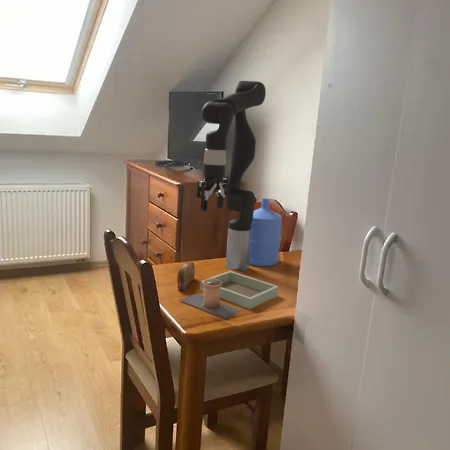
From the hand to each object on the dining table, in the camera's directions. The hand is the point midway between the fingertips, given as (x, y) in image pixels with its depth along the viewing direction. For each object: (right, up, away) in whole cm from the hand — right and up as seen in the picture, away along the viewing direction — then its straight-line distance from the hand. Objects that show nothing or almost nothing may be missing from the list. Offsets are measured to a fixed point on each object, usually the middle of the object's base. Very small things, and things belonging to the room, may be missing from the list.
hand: (212, 209), depth 168 cm
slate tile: (0, -33, -8) cm, 34 cm away
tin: (-10, -28, +9) cm, 32 cm away
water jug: (+20, -22, +45) cm, 54 cm away
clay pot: (0, -32, -8) cm, 33 cm away
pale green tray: (+9, -31, +4) cm, 32 cm away
